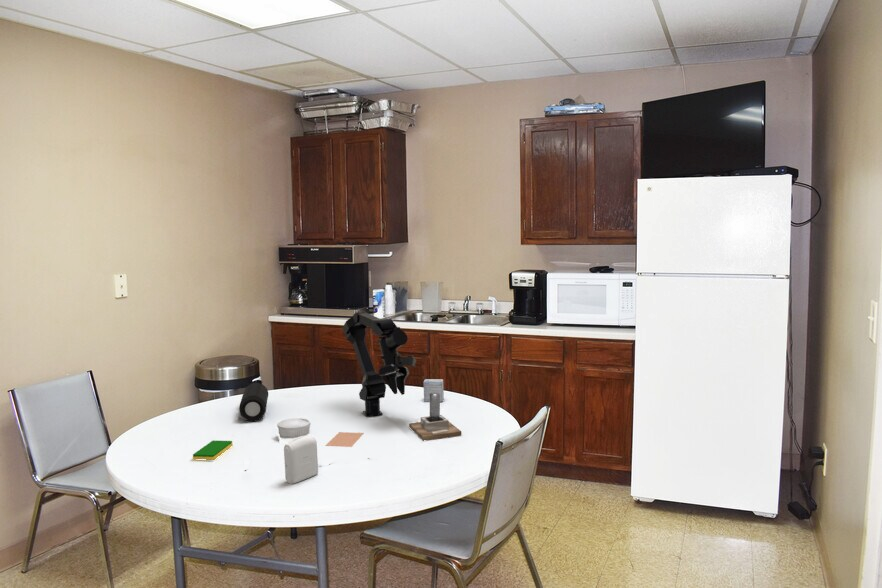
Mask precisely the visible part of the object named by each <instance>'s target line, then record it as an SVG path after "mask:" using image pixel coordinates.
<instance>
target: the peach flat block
mask: <svg viewBox="0 0 882 588" xmlns="http://www.w3.org/2000/svg"><path fill="white" fill-rule="evenodd" d="M363 435H364V432H347V431H346V432H345V431H343V432H342V431H339V432H337V434H336V435H334V437H332V439H330V440H329V442H327V443H326V444H325V447H345V448H347V447H348V448H349V447H350V448H352V447H354V445H355V444H356V442H357V441H358V440H360V439H361V437H362V436H363Z"/></svg>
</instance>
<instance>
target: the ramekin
mask: <svg viewBox="0 0 882 588" xmlns="http://www.w3.org/2000/svg"><path fill="white" fill-rule="evenodd" d="M311 423H312V422H311V420H309V419H307V418H301V417H300V418H299V417H295V418H294V417H293V418H288V419H287V418H286V419H283V420H280V421H279V422H277V425H276V427H277V429H278V432H279V433H278V434H279V436H280V438H282V437H283V438H297V437H300V436H306V435H309V432H310V428H311Z"/></svg>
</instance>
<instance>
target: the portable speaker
mask: <svg viewBox="0 0 882 588" xmlns="http://www.w3.org/2000/svg"><path fill="white" fill-rule="evenodd" d="M268 399H269V390H268V388H267V387H266V386H265V385H264V384H263V383H260V382H252V383H250V384H249V385H247V386H246V387H245V388H244V391H243V393H242V396H241V399H240V402H239V407H238V409H239V414H240V415H241V417H242V418H243V419H244V420H247V421H249V422H256V421H259V420H261V418H263V417H264V416H265V414H266V412H267V404H268ZM255 420H256V421H255Z"/></svg>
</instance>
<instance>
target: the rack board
mask: <svg viewBox="0 0 882 588" xmlns="http://www.w3.org/2000/svg"><path fill="white" fill-rule="evenodd" d="M408 427H410V428H411V429H412V430H413V431H414V432H415V433H416V434H417V435H418V438H420V439H421V440H422V442H425V441H424V440H426V441H431V440H439V439H446V438H447V437H448V438H452V437H453V438H454V436H455V437H461V435H462V430H460V429H459V428H458V427H457V426H456V425H454V424H452V422H450V421H449V419H448V418H446V417H445V416H443V414H440V421H434V422H430V415H428V416H423V417H422V416H421V417H420V421H417V422H409V423H408ZM410 428H409V429H410ZM411 429H410V430H411ZM412 430H411V431H412ZM413 431H412V432H413ZM414 432H413V433H414ZM415 433H414V434H415ZM416 434H415V435H416ZM417 435H416V436H417Z"/></svg>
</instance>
